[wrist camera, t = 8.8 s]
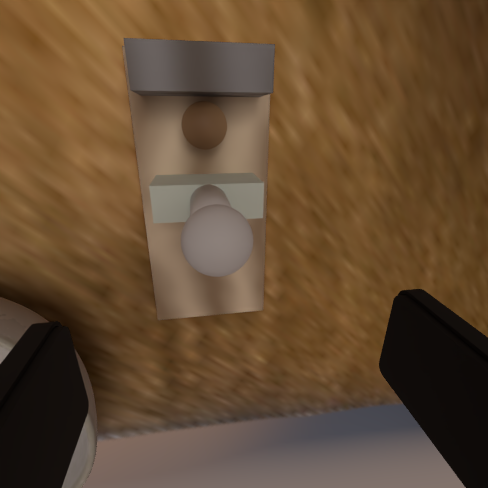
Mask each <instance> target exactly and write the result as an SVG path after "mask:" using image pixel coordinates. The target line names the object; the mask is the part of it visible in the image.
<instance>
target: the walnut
mask: <svg viewBox="0 0 488 488" xmlns="http://www.w3.org/2000/svg"><path fill="white" fill-rule="evenodd" d="M181 124H182V131H183V134H184V136H185V138H186V140H187V141H188V142H189V143H190V144H191V145H193V146H194V147H196V148H199V149H204V150H207V149H212V148H214V147H216V146H218V145H219V144H220V143H221V142H222V141H223V139H224V137H225V135H226V132H227V121H226V118H225V115H224V113H223V112H222V110H221V109H220V108H219V107H218V106H217V105H215V104H213V103H211V102H208V101H199V102H195V103H193V104H192V105H190V106H189V107H188V108H187V109H186V111H185V112H184V114H183V117H182V123H181Z"/></svg>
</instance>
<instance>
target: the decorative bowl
mask: <svg viewBox="0 0 488 488" xmlns="http://www.w3.org/2000/svg"><path fill="white" fill-rule="evenodd" d="M45 322H49V321H47V320H46V319H45V318H43V317H42V316H40V315H39V314H37V313H36V312H34V311H32V310H30V309H28V308H26V307H24V306H22V305H20V304H18V303H15V302H13V301H10V300H7V299H4V298H1V297H0V364H1V363H2V361H3V360H4V359H5V357H6V356H7V355H8V354H9V352H10V351H11V350H12V348H13V347H14V346H15V345H16V343H17V342H18V341H19V339H20V338H21V337H22V335H23V334H24V333H25V332H26V330H27V329H28V328H29V327H30V326H31V325H32V324H34V323H45ZM74 349H75V348H74ZM75 352H76V356H77V360H78V363H79V367H80V371H81V374H82V378H83V382H84V385H85V389H86V393H87V396H88V401H89V409H88V414H87V417H86V420H85V423H84V426H83V428H82V431H81V434H80V437H79V440H78V443H77V446H76V448H75V451H74V454H73V457H72V460H71V463H70V465H69V468H68V471H67V474H66V477H65V480H64V483H63V485H62V488H82V487H83V485H84V483H85V482H86V480H87V478H88V476H89V474H90V472H91V470H92V467H93V464H94V459H95V455H96V447H97V414H96V406H95V399H94V394H93V390H92V385H91V382H90V379H89V376H88V373H87V371H86V368H85V366H84V364H83V362H82V360H81V358H80V356H79V355H78V353H77V351H76V350H75Z"/></svg>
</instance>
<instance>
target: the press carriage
mask: <svg viewBox="0 0 488 488" xmlns="http://www.w3.org/2000/svg"><path fill="white" fill-rule="evenodd" d="M149 189H150V198H151V206H152V214H153V223H173V222H186V223H185V224H184V227H183V229H182V233H181V248H182V252H183V254H184V257H185V259H186V260H187V262H188V263H189V264H190V265H191V266H192V267H193V268H194V269H195V270H197V271H198V272H200V273H202V274H204V275H207V276H213V277H222V276H227V275H230V274H232V273H234V272H236V271H237V270H239V269H240V268H241V267H242V266H243V265H244V264H245V263H246V262H247V260H248V259H249V257H250V254H251V252H252V248H253V233H252V230H251V227H250V225H249V223H248V221H247V220H246V219H256V218H263V203H264V182H263V181H261V180H260V179H259V178H258V177H257V176H256V175H255V174H253V173H221V174H180V175H156V176H155V178H154V179H153V181H152V182H151V184H150V186H149Z"/></svg>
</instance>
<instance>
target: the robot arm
mask: <svg viewBox="0 0 488 488" xmlns="http://www.w3.org/2000/svg"><path fill="white" fill-rule="evenodd" d="M379 368H380V371H381V373H382V375H383V377H384V378H385V379H386V381H387V382H388V383H389V385H390V386H391V387H392V389H393V390H394V391H395V393H396V394H397V396H398V397H399V398H400V400H401V401H402V402H403V404H404V405H405V406H406V408H407V409H408V410H409V412H410V413H411V414H412V416H413V417H414V418H415V420H416V421H417V422H418V424H419V425H420V427H421V428H422V429H423V430H424V432H425V433H426V435H427V436H428V437H429V439H430V440H431V441H432V443H433V444H434V445H435V447H436V448H437V450H438V451H439V452H440V454H441V455H442V456H443V458H444V459H445V460H446V462H447V463H448V464H449V466H450V467H451V468H452V470H453V471H454V472H455V474H456V475H457V477H458V478H459V479H460V480H461V481H462V483H463V485H464V486H465V487H466V488H488V337H486V336H485V335H484V334H482V333H481V332H479V331H478V330H477V329H475V328H474V327H473V326H471V325H470V324H469V323H467V322H466V321H465V320H463V319H462V318H461V317H459V316H458V315H457V314H455V313H454V312H453V311H451V310H450V309H449V308H447V307H446V306H444V305H443V304H442V303H440V302H439V301H438V300H436V299H435V298H434V297H432V296H431V295H430V294H428V293H427V292H426V291H424V290H422V289H413V290H403V291H400V293H399V294H398V296H396V297H395V298H394V301H393V305H392V309H391V314H390V318H389V322H388V327H387V331H386V335H385V340H384V344H383V348H382V353H381V357H380V361H379ZM88 409H89V401H88V396H87V393H86V389H85V385H84V382H83V378H82V374H81V371H80V367H79V363H78V360H77V356H76V352H75V349H74V345H73V342H72V338H71V334H70V331H69V328H68V327H66V326H63V327H62V325H61V323H60V322H57V321H56V322H45V323H34V324H32V325H31V326H30V327H29V328H28V329H27V330H26V332H25V333H24V334H23V335H22V337H21V338H20V339H19V341H18V342H17V343H16V345H15V346H14V347H13V348H12V350H11V351H10V352H9V354H8V355H7V356H6V357H5V359H4V360H3V361H2V363H1V364H0V488H62V485H63V483H64V480H65V477H66V474H67V471H68V468H69V465H70V463H71V460H72V457H73V454H74V451H75V448H76V446H77V443H78V440H79V437H80V434H81V431H82V428H83V426H84V423H85V420H86V417H87V414H88Z"/></svg>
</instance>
